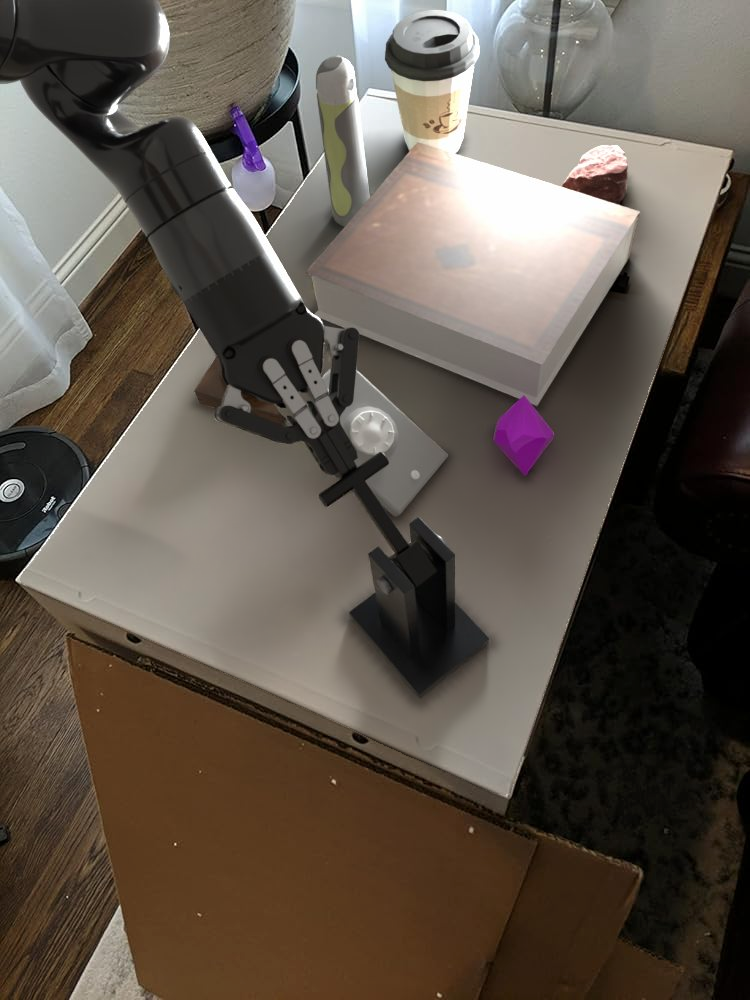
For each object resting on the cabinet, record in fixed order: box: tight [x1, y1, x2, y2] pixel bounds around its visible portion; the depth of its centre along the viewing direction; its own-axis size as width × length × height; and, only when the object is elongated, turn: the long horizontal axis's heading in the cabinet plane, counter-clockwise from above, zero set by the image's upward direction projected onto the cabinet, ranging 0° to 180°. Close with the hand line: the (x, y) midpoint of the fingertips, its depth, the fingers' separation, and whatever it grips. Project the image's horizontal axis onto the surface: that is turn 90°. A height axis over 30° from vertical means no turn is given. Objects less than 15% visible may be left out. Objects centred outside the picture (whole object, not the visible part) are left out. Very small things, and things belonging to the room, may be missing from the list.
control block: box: [193, 355, 287, 425], centre depth 92 cm, size 8×10×4 cm
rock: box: [561, 144, 629, 205], centre depth 103 cm, size 11×6×8 cm
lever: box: [317, 452, 438, 587], centre depth 66 cm, size 10×6×2 cm
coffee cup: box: [384, 9, 481, 154], centre depth 106 cm, size 11×11×15 cm
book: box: [305, 142, 641, 407], centre depth 96 cm, size 24×28×6 cm
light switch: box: [307, 367, 449, 517], centre depth 85 cm, size 8×6×14 cm
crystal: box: [493, 395, 555, 477], centre depth 85 cm, size 5×5×5 cm
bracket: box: [348, 516, 490, 700], centre depth 71 cm, size 10×8×15 cm
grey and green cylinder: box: [315, 55, 371, 227], centre depth 98 cm, size 5×5×20 cm
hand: (346, 472), depth 66 cm, fingers closed
